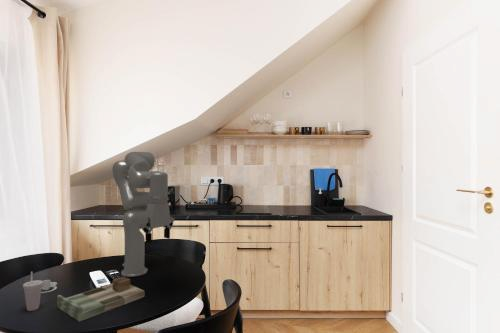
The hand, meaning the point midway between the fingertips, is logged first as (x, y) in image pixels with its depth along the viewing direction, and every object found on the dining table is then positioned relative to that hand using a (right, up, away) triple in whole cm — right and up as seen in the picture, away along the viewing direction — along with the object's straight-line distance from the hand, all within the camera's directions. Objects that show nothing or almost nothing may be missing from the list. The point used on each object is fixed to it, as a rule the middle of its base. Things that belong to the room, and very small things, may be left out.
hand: (158, 240), depth 134 cm
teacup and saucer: (-46, -23, +2) cm, 52 cm away
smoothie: (-42, -22, -17) cm, 51 cm away
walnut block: (-14, -20, -4) cm, 24 cm away
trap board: (-19, -22, -11) cm, 31 cm away
